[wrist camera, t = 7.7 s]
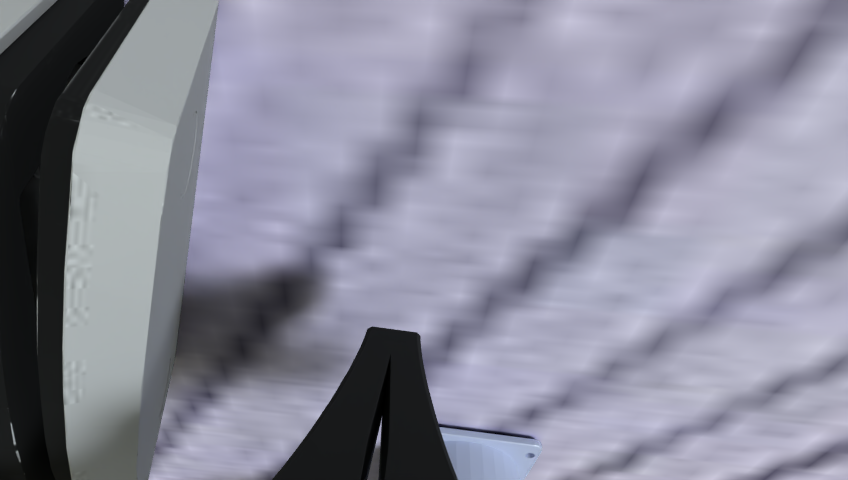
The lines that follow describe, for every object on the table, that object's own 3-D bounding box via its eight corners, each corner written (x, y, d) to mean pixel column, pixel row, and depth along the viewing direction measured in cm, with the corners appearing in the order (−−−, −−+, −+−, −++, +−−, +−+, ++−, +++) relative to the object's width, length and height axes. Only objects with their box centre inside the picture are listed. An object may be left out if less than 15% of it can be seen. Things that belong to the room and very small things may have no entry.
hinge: (8, -110, 10) (-794, -78, 2) (226, -21, 12) (148, 134, 5) (62, 327, 18) (-74, 613, 11) (180, 331, 21) (130, 572, 13)
